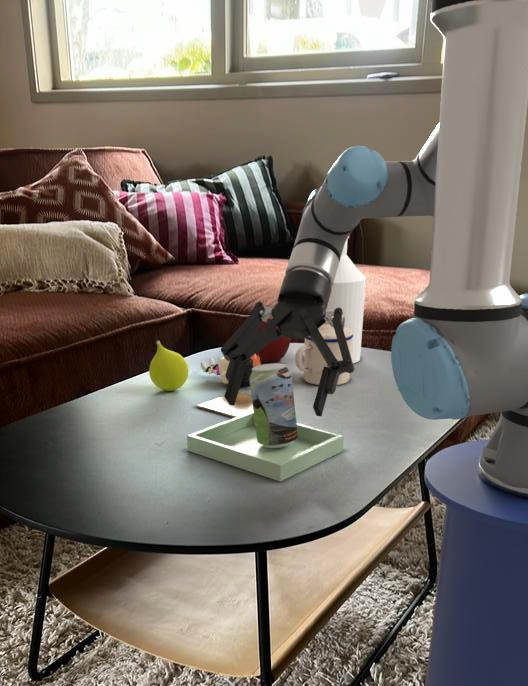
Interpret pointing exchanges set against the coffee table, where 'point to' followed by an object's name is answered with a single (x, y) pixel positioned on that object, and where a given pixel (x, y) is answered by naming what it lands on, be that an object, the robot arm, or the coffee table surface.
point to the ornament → (168, 369)
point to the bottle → (349, 299)
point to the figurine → (223, 365)
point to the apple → (273, 347)
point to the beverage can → (273, 405)
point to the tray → (246, 453)
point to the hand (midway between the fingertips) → (272, 406)
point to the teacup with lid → (315, 359)
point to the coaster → (223, 407)
